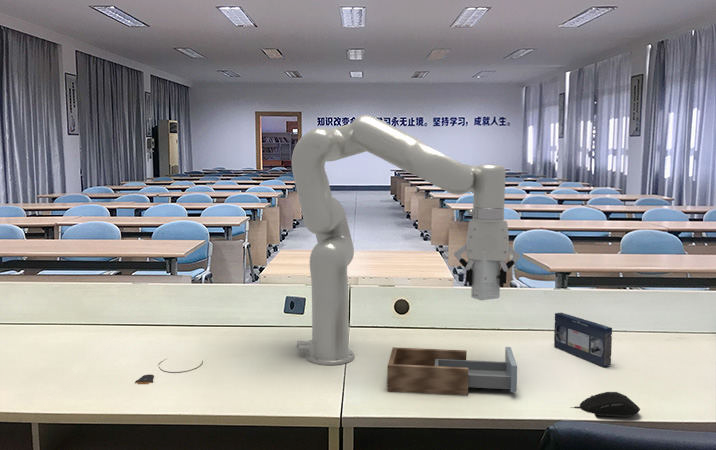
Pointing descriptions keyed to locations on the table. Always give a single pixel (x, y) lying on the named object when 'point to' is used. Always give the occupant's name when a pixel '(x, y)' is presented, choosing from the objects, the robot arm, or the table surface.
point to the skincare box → (485, 279)
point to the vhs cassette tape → (583, 339)
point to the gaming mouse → (609, 405)
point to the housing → (426, 372)
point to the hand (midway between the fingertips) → (485, 285)
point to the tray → (488, 371)
